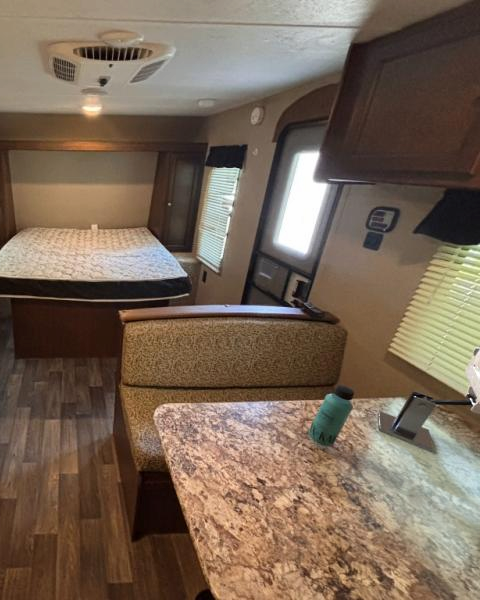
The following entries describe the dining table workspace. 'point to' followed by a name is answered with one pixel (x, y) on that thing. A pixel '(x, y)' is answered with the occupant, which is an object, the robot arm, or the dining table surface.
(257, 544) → the dining table surface
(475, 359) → the robot arm
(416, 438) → the bracket
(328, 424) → the beverage bottle
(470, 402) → the lever
